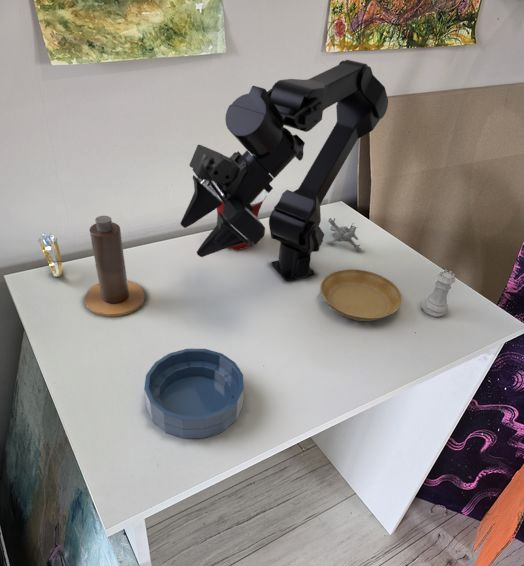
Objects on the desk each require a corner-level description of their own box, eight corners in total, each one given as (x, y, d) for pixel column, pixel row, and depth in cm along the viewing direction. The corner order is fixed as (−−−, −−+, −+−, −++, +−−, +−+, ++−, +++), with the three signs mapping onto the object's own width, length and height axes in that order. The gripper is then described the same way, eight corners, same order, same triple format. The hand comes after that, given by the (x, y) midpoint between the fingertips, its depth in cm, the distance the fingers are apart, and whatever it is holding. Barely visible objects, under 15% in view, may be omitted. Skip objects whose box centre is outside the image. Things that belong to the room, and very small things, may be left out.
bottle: (110, 285, 87) (98, 209, 77) (133, 292, 86) (124, 215, 77) (96, 300, 84) (81, 222, 74) (120, 306, 83) (108, 229, 73)
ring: (70, 282, 88) (61, 243, 83) (51, 286, 87) (41, 247, 81) (59, 263, 92) (50, 224, 87) (41, 267, 91) (31, 228, 86)
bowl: (135, 385, 71) (132, 363, 68) (219, 361, 76) (220, 339, 73) (165, 454, 63) (163, 432, 60) (257, 422, 68) (260, 400, 65)
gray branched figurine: (358, 235, 109) (374, 242, 101) (340, 255, 110) (354, 264, 102) (328, 204, 105) (342, 208, 97) (309, 225, 106) (322, 232, 98)
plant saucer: (380, 340, 83) (384, 328, 81) (303, 307, 88) (305, 296, 86) (409, 298, 92) (413, 287, 90) (339, 271, 97) (341, 260, 96)
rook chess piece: (446, 319, 88) (462, 283, 83) (421, 315, 89) (435, 278, 83) (444, 305, 91) (459, 269, 86) (420, 301, 92) (433, 264, 87)
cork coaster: (79, 289, 87) (79, 286, 87) (135, 277, 91) (135, 275, 90) (92, 322, 81) (92, 319, 80) (152, 308, 84) (151, 306, 84)
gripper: (204, 105, 74) (138, 183, 77) (249, 152, 61) (166, 242, 65) (250, 154, 81) (188, 223, 85) (298, 204, 69) (222, 282, 73)
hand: (190, 240), depth 77 cm, fingers open, 9 cm apart
